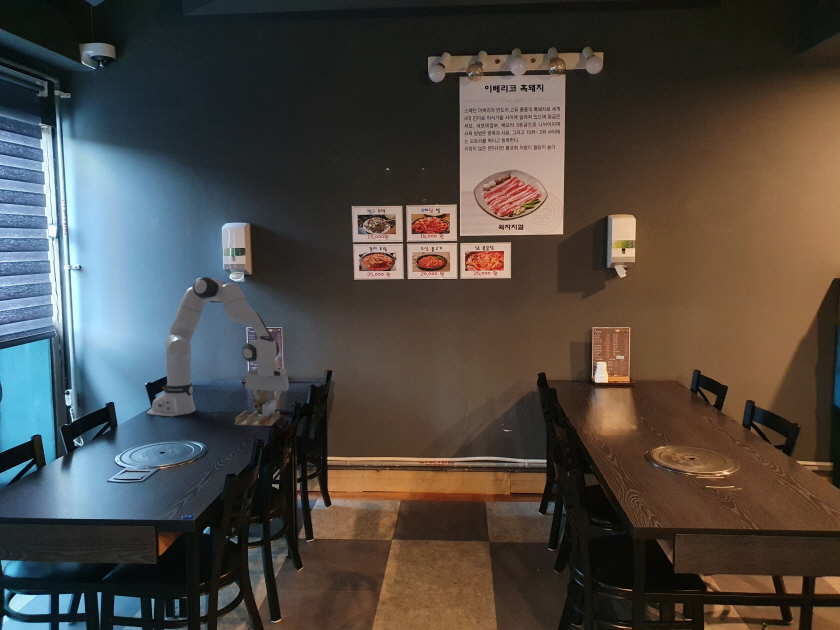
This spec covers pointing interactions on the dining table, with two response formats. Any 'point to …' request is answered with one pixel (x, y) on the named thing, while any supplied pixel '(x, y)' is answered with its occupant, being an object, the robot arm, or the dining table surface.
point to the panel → (268, 409)
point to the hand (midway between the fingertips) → (267, 399)
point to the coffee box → (263, 399)
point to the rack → (256, 419)
